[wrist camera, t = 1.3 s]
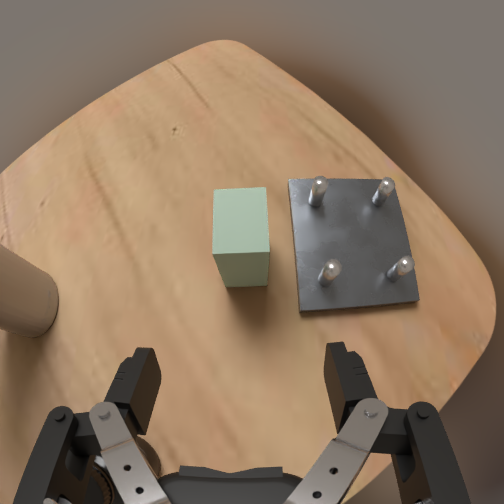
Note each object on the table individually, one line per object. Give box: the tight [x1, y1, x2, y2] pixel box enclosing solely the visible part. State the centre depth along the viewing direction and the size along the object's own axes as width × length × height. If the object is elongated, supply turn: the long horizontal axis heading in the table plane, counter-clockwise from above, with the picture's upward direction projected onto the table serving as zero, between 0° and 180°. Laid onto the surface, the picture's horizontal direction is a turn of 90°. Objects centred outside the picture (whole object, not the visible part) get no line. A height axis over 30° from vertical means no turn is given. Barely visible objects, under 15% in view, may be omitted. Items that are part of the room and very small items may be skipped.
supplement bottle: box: [83, 436, 160, 504], centre depth 21 cm, size 7×7×12 cm
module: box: [213, 187, 270, 287], centre depth 30 cm, size 4×6×10 cm
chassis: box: [288, 176, 420, 313], centre depth 33 cm, size 14×16×5 cm
